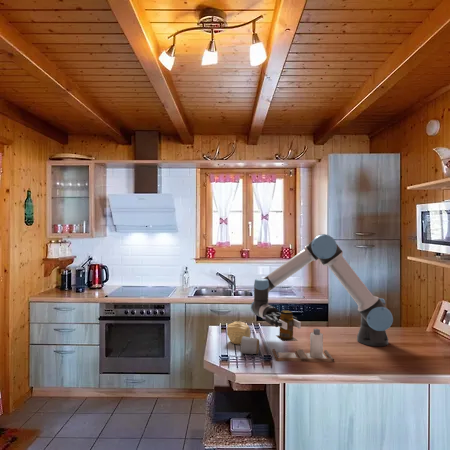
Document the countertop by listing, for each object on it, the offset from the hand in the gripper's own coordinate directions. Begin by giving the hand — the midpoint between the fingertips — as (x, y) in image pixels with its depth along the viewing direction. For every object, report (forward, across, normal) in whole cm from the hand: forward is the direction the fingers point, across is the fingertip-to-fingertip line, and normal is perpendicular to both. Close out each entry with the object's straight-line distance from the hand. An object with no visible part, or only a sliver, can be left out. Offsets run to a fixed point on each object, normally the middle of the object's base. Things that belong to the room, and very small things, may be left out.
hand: (293, 325), depth 155 cm
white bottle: (-1, -12, -15) cm, 19 cm away
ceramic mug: (-17, +13, -16) cm, 27 cm away
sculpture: (-32, +12, -16) cm, 38 cm away
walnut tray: (-2, -6, -16) cm, 17 cm away
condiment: (-5, 0, -7) cm, 9 cm away
